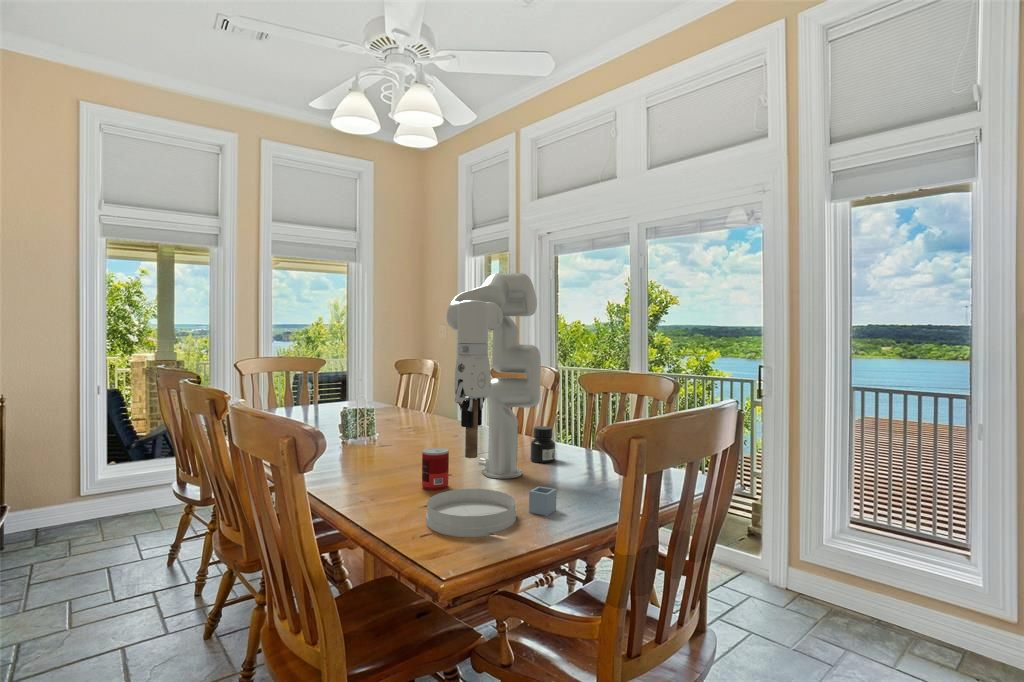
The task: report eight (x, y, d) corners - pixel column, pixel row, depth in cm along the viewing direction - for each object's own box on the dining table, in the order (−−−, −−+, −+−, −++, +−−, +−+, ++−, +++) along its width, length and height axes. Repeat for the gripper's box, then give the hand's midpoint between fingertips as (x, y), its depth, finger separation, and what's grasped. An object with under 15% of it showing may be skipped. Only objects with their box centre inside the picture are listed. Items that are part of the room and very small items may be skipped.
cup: (529, 514, 140) (529, 491, 140) (538, 508, 144) (538, 486, 144) (547, 518, 137) (547, 494, 137) (556, 512, 142) (556, 489, 142)
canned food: (453, 485, 166) (453, 448, 165) (438, 492, 158) (439, 454, 158) (431, 481, 169) (432, 446, 169) (416, 488, 162) (417, 451, 161)
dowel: (462, 457, 134) (463, 399, 134) (469, 454, 136) (470, 398, 136) (473, 458, 132) (473, 400, 132) (479, 456, 135) (480, 399, 135)
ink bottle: (549, 465, 192) (549, 431, 192) (526, 462, 196) (526, 428, 196) (558, 459, 201) (559, 426, 201) (536, 456, 205) (537, 424, 205)
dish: (440, 544, 121) (440, 521, 121) (416, 512, 141) (416, 493, 141) (531, 530, 129) (531, 509, 129) (496, 503, 150) (496, 485, 150)
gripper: (466, 352, 125) (465, 432, 125) (502, 350, 139) (501, 423, 140) (440, 351, 129) (439, 429, 129) (477, 350, 143) (476, 420, 143)
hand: (471, 425), depth 134 cm, fingers closed on dowel, 3 cm apart
